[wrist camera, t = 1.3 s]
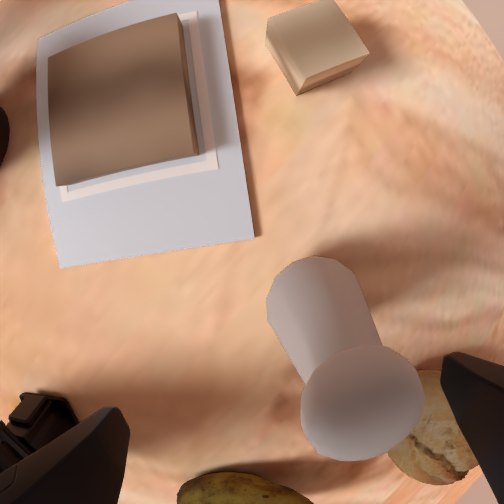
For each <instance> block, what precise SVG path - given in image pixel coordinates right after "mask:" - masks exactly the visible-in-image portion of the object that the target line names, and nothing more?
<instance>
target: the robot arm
mask: <svg viewBox="0 0 504 504" xmlns="http://www.w3.org/2000/svg"><path fill="white" fill-rule="evenodd" d="M440 384H441V388H442V390H443V392H444V394H445V396H446V399H447V401H448V403H449V406H450V408H451V410H452V413H453V415H454V417H455V420H456V422H457V424H458V426H459V428H460V430H461V432H462V434H463V436H464V438H465V439H466V441H467V443H468V445H469V447H470V448H471V450H472V452H473V454H474V456H475V458H476V460H477V462H478V463H479V465H480V467H481V469H482V471H483V473H484V475H485V477H486V479H487V481H488V483H489V485H490V487H491V489H492V491H493V493H494V495H495V497H496V499H497V501H498V503H499V504H504V366H502V365H499V364H495V363H492V362H489V361H486V360H483V359H480V358H476V357H473V356H470V355H467V354H464V353H461V352H453V353H450V354H447V355H446V356H445V357H444V358H443V363H442V370H441V376H440ZM19 397H20V400H21V403H20V404H19V405H18V406H17V407H16V408H15V410H14V411H13V412H12V413H11V414H10V415H9V418H8V419H9V423H8V424H7V425H6V426H5V423H4V422H3V421H2V420H1V421H0V504H117V503H118V498H119V494H120V491H121V487H122V483H123V478H124V473H125V466H126V459H127V452H128V445H129V439H130V429H129V426H128V424H127V422H126V421H125V419H124V417H123V415H122V413H121V411H120V409H119V408H118V407H112V406H105V407H103V408H101V409H100V410H98V411H97V412H95V413H94V414H93V415H91V416H90V417H88V418H87V419H85V420H84V421H82V422H81V423H79V422H78V420H77V418H76V416H75V414H74V413H73V411H72V409H71V407H70V405H69V403H68V401H67V400H66V399H64V398H61V397H51V396H42V395H33V394H26V393H22V394H21V395H20V396H19Z"/></svg>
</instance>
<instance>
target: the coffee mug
mask: <svg viewBox="0 0 504 504" xmlns="http://www.w3.org/2000/svg"><path fill="white" fill-rule="evenodd" d="M8 141H9V122H8V118H7V115H6V113H5V111H4V110H3V109H2V107H0V165H1V163H2V162H3V159H4V157H5V154H6V151H7V147H8Z"/></svg>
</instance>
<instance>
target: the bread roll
mask: <svg viewBox="0 0 504 504" xmlns="http://www.w3.org/2000/svg"><path fill="white" fill-rule="evenodd" d="M417 373H418V376H419V378H420V381H421V384H422V387H423V391H424V394H425V398H426V399H425V403H424V407H423V410H422V414H421V417H420V419H419V421H418V423H417V425H416V426H415V427H414V429H413V430H412V431H411V432H410V434H409V435H408V436H407V437H406V438H405V439H404V441H402V442H401V443H399V444H398V445H396V446H395V447H394V448H392V449H391V450H389V451H388V452H387V453H388V455H389V457H390V458H391V459H392V461H393V462H394V463H395V464H396V465H397V467H398V468H399V469H400V470H401V471H402V472H404V473H405V474H406V475H408V476H409V477H411V478H413V479H415V480H418V481H420V482H423V483H426V484H432V485H448V484H453V483H454V482H456V481H459V480H462V479H463V478H465V475H467V473H468V471H469V470H470V469H472V468H474V467H475V466H478V465H479V463H478V462H477V460H476V458H475V456H474V454H473V452H472V450H471V448H470V447H469V445H468V443H467V441H466V439H465V438H464V436H463V434H462V432H461V430H460V428H459V426H458V424H457V422H456V420H455V417H454V415H453V413H452V410H451V408H450V406H449V403H448V401H447V399H446V396H445V394H444V392H443V390H442V388H441V384H440V376H441V371H440V370H418V371H417Z"/></svg>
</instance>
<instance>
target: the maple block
mask: <svg viewBox="0 0 504 504" xmlns="http://www.w3.org/2000/svg"><path fill="white" fill-rule="evenodd" d="M265 46H266V48H267V49H268V51H269V52H270V54H271V55H272V57H273V58H274V60H275V62H276V63H277V65H278V66H279V68H280V70H281V71H282V73H283V75H284V76H285V78H286V79H287V81H288V83H289V84H290V86H291V88H292V89H293V91H294V93H295V95H296V96H297V95H299V94H302V93H304V92H306V91H308V90H311V89H313V88H315V87H317V86H320V85H322V84H324V83H327V82H329V81H332V80H334V79H337V78H339V77H341V76H344V75H346V74H349V73H350V72H351V71H352V70H354V69H355V68H356V67H357V66H358V65H359V64H360V63H361V62H362V61H363V60H364V59H365V58H366V57H367V56H368V55H369V54H370V53H369V51H368V49H367V48H366V46H365V45H364V43H363V42H362V40H361V38H360V37H359V35H358V34H357V32H356V31H355V29H354V28H353V26H352V25H351V24H350V22H349V21H348V19H347V18H346V16H345V15H344V14H343V12H342V11H341V9H340V8H339V7H338V5H337V4H336V3H335V1H334V0H320V1H317V2H314V3H310V4H307V5H304V6H301V7H298V8H295V9H292V10H290V11H287V12H284V13H281V14H279V15H276V16H273V17H271V18H268V21H267V31H266V40H265Z"/></svg>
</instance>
